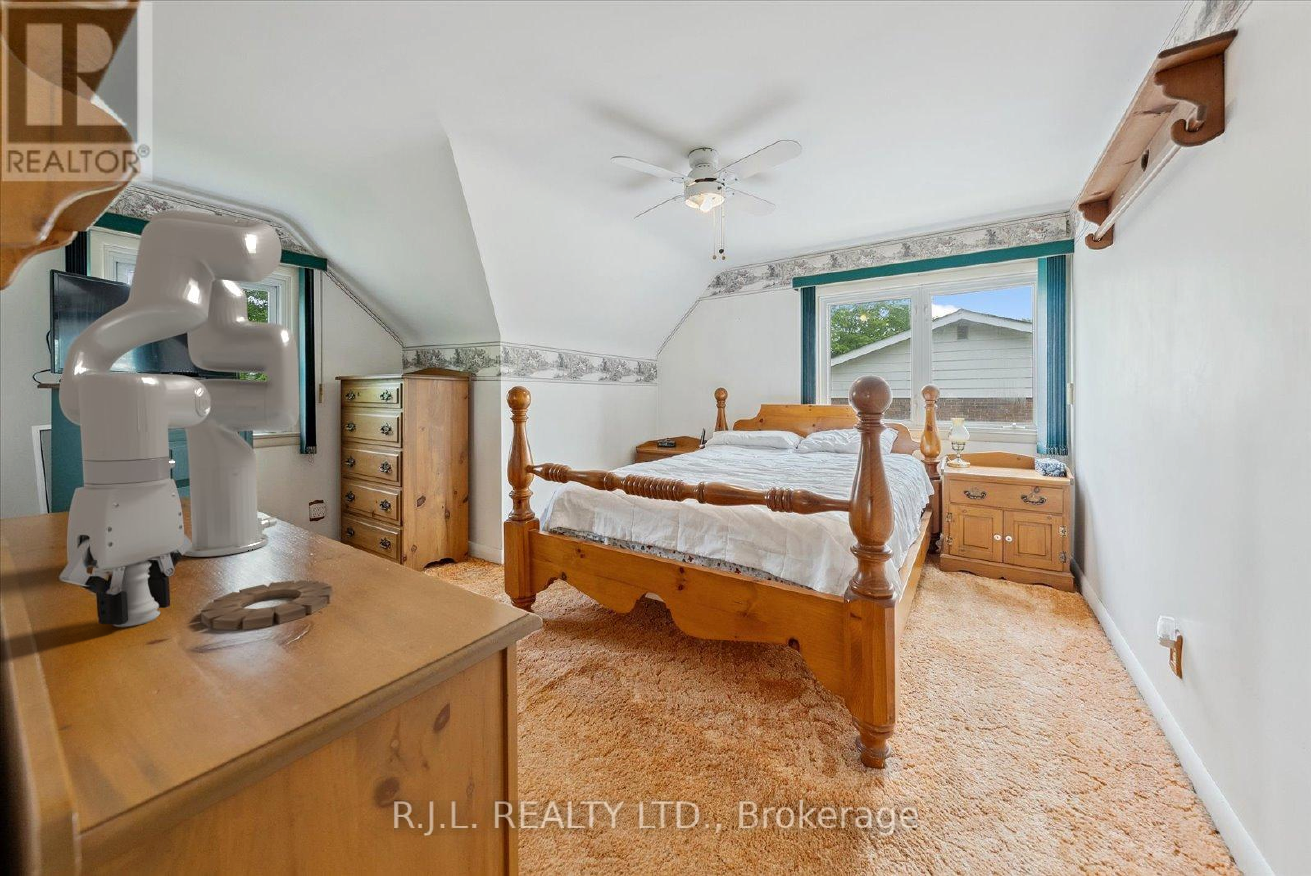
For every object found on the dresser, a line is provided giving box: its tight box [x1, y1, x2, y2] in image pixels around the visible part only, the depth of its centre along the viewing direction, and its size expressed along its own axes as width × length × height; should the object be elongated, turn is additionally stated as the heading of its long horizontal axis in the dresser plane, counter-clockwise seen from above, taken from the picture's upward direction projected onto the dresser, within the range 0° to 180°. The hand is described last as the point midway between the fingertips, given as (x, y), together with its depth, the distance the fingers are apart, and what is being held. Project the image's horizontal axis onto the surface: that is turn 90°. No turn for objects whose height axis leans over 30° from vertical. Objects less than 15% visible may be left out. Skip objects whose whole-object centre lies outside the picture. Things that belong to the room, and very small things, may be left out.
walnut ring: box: [200, 579, 334, 631], centre depth 70 cm, size 14×14×1 cm
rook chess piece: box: [113, 560, 161, 628], centre depth 64 cm, size 4×4×8 cm
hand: (135, 613), depth 65 cm, fingers closed on rook chess piece, 4 cm apart
